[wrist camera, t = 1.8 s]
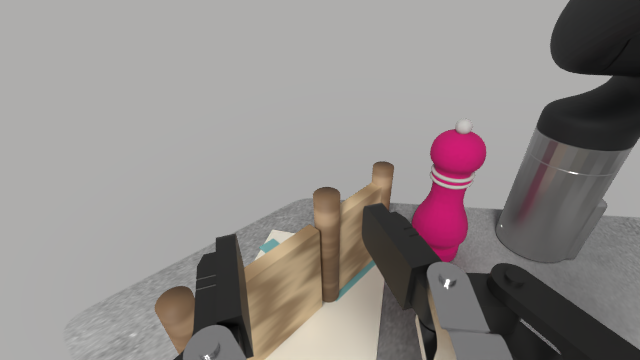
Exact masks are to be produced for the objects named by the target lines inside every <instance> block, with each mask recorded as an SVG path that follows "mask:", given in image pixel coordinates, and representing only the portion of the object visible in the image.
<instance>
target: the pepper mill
mask: <svg viewBox="0 0 640 360" xmlns="http://www.w3.org/2000/svg"><path fill="white" fill-rule="evenodd" d="M472 128H473V124H472V122H471V121H470V120H468V119H461V120H459V121H458V122H457V123H456V126H455V129H454V130H448V131H445V132H443V133H441V134H440V135H439V136H438V137H437V138H436V139H435V140H434V142H433V144H432V147H431V151H430V155H431V159H432V161H433V163H434V164H433V165H432V167H431V169H432V171H431V172H430V177H431V179H432V180H433V184H432V188H431V191H430V193H429V195H428V196H427V198H426V199H425V200H424V201H423V202H422V204H420V205H419V207H418V208H417V210H416V211H415V214H414V216H413V219H412V226H413V228H415V229H416V231H417V232H418V233H419V235H421V236H422V238H423V239H424V240H425V241H426V242H427V244H428V245H429V246H430V247H431V248H432V249H433V251H434V252H435V253H436V254H437V255H438V256H439V258H440V259H441V260H442V261H443V262H450V261H451V260H453V259H454V258H455V256H456V253H457V250H458V246H459V244H460V243H462V242H463V241H464V239H465V238H466V235H467V230H468V221H467V216H466V212H465V209H464V205H463V198H464V194H465V191H466V189H467V188H468V187H470V186H471V185H472V183H473V179H474V177H475V172H474V171H476V170H477V169H479V168H480V167H481V166H482V164H483V163H484V161H485V157H486V146H485V144H484V142H483V140H482V139H481V138H480V137H479V136H478V135H477V134H475V133H473V132H471V130H472Z"/></svg>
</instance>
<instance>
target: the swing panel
mask: <svg viewBox="0 0 640 360" xmlns="http://www.w3.org/2000/svg"><path fill="white" fill-rule="evenodd" d="M244 271H245V279H246V288H247V297H248V306H249V316H250V325H251V334H252V343H253V353H254V357H251V358H248V359H247V360H265V359H266V358H267V357H268V356H269V355H270V354H271V353H272V352H273V351H274V350H276V349H277V348H278V347H279V346H280V345H281V344H282V343H283V342H284V341H285V340H286V339H287V338H289V337H290V336H291V335H292V334H293V333H294V332H295V331H296V330H297V329H298V328H299V327H300V326H302V325H303V324H304V323H305V322H306V321H307V320H308V319H309V318H310V317H311V316H312V315H313V314H315V313H316V312H317V311H318V310H319V309H320V308H321V307H322V284H321V259H320V233H319V230H317V229H316V228H314V227H313V226H311V225H310V224H309V225H308V226H306V227H305V228H303V229H302V230H300V231H299V232H297V233H296V234H294V235H293V236H291V237H290V238H288V239H287V240H285V241H284V242H282V243H281V244H279V245H278V246H276V247H275V248H273V249H272V250H270V251H269V252H267V253H266V254H264V255H263V256H261V257H260V258H258V259H257V260H255V261H254V262H252V263H251V264H249V265H248V266H246V267H245V268H244ZM194 309H195V298H194V296H193V293H192V291H191V290H190V289H189V288H188V287H185V286H178V287H174V288H171V289H169V290H167V291H166V292H164V293H163V294H162V295H161V296H160V297H159V298H158V300H157V302H156V304H155V312H156V314H157V315H158V317H159V319H160V321H161V323H162V324H163V326H164V328H165V330H166V332H167V333H168V335H169V337H170V339H171V341H172V342H173V344H174V346H175V348H176V350H177V351H178V353H179V355H180V353H181V352H182V351H183V350H184V349H185V347H186V345H187V343H188V342H189V340H190V339H191V337H192V333H193V325H194Z"/></svg>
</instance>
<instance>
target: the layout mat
mask: <svg viewBox="0 0 640 360" xmlns="http://www.w3.org/2000/svg"><path fill="white" fill-rule="evenodd" d="M294 234H295V233H289V232H283V231H278V230H272V232H271V233H270V235H269V237H268V238H267V240H266V242H265V244H263V245H262V246H260V247H259V248H260V249H261V250H260V252H259V254H258V256H257V257H256V259H255V260H257V259H258V258H260V257H261V256H263V255H264V254H266V253H267V252H269V251H270V250H272V249H273V248H275V247H276V246H278V245H279V244H281V243H282V242H284V241H285V240H287V239H288V238H290V237H291V236H293V235H294ZM384 280H385V279H384V278H383V276H382V274H381V272H380V271H379V269H378V267H377V266H376V264H375V262H374V261H373V260H372V261H371V262H370V263H369V264H368V265H367V266H365V267H364V268H363V269H362V270H361V271H360V272H359V273H358V274H357V275H356V276H355V277H354V278H352V279H351V280H350V281H349V282H348V283H347V284H346V285H345V286H344V287H343V288H342V289H341V290H339V297H338V298H337V300H335V301H334V302H330V303H327V302H324V301H322V307H321V308H320V309H319V310H318V311H317V312H316V313H315V314H313V315H312V316H311V317H310V318H309V319H308V320H307V321H306V322H305V323H304V324H303V325H302V326H300V327H299V328H298V329H297V330H296V331H295V332H294V333H293V334H292V335H291V336H290V337H289V338H287V339H286V340H285V341H284V342H283V343H282V344H281V345H280V346H279V347H278V348H277V349H276V350H274V351H273V352H272V353H271V354H270V355H269V356H268V357H267V358H266V359H265V360H376V356H377V346H378V337H379V327H380V318H381V308H382V299H383V289H384Z"/></svg>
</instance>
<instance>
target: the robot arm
mask: <svg viewBox="0 0 640 360" xmlns="http://www.w3.org/2000/svg"><path fill="white" fill-rule="evenodd" d="M550 48H551V54H552V58H553V60H554V61H555V63H556V64H557V65H558V66H559V67H560V68H562V69H564V70H566V71H568V72H572V73H578V74H587V75H609V76H612V78H611V79H610V80H609V81H608V82H606V83H605V84H603V85H601V86H599V87H598V88H596V89H593V90H591V91H588V92H586V93H583V94H580V95H576V96H571V97H567V98H563V99H559V100H556V101H553V102H551V103H549V104H548V105H547V106H546V107H545V108H544V109H543V111H542V113H541V115H540V118H539V120H538V123H537V126H536V128H535V131H534V133H533V136H532V138H531V141H530V143H529V146H528V148H527V151H526V153H525V156H524V159H523V161H522V164H521V166H520V169H519V171H518V174H517V176H516V179H515V181H514V184H513V186H512V189H511V191H510V194H509V196H508V199H507V201H506V204H505V206H504V209H503V211H502V214H501V216H500V218H499V222H498V224H497V227H496V234H497V236H498V238H499V240H500V241H501V242H502V243H503V244H504V245H505V246H506V247H507V248H509V249H510V250H511V251H513V252H515V253H516V254H518V255H520V256H522V257H525V258H527V259H530V260H534V261H538V262H544V263H554V262H559V261H561V260H564V259H572V260H574V259H575V257H576V256H577V254H578V252H579V251H580V249H581V248H582V246H583V245H584V243H585V241H586V240H587V238H588V237H589V235H590V234H591V232H592V230H593V229H594V227H595V226H596V224H597V223H598V221H599V219H600V218H601V216H602V215H603V213H604V212H605V210H606V208H607V203H606V202H605V201H604V200H603V199H602V198H603V196H604V195H605V193H606V191H607V190H608V188H609V186H610V185H611V183H612V181H613V180H614V178H615V176H616V175H617V173H618V171H619V170H620V168H621V166H622V165H623V163H624V161H625V160H626V158H627V157H628V155H629V153H630V152H631V150H632V148H633V147H634V145H635V144H636V142H637V140H638V139H639V137H640V0H570V1H569V2H568V4H567V5H566V7H565V9H564V10H563V11H562V13H561V15H560V17H559V18H558V20H557V22H556V24H555V27H554V30H553V33H552V37H551V43H550ZM362 239H363V243H364V245H365V247H366V249H367V251H368V252H369V254H370V256H371V257H372V259H373V261H374V262H375V264H376V266H377V267H378V269H379V271H380V272H381V274H382V276H383V278H384V279H385V281H386V283H387V284H388V286H389V288H390V289H391V291H392V293H393V294H394V296H395V298H396V299H397V301H398V303H399V304H400V306H401V308H402V310H406V309H409V308H413V309H414V311H415V312H416V318H415V322H416V327H417V333H418V338H419V343H420V349H421V354H422V359H423V360H640V350H639V349H637V348H636V347H635V346H633V345H632V344H630V343H629V342H627V341H626V340H625V339H623V338H622V337H620V336H619V335H617V334H616V333H615V332H613V331H612V330H610V329H609V328H607V327H606V326H605V325H603V324H602V323H600V322H599V321H597V320H596V319H595V318H593V317H592V316H590V315H589V314H587V313H586V312H584V311H583V310H582V309H580V308H579V307H577V306H576V305H574V304H573V303H572V302H570V301H569V300H567V299H566V298H564V297H563V296H562V295H560V294H559V293H557V292H556V291H554V290H553V289H552V288H550V287H549V286H547V285H546V284H544V283H543V282H542V281H540V280H539V279H537V278H536V277H534V276H533V275H532V274H530V273H529V272H527V271H526V270H524V269H522V268H520V267H518V266H516V265H513V264H508V263H500V264H497V265H495V266H494V267H493V268H492V270H491V272H490V274H484V273H465V272H464V271H463V270H462V269H461V268H459V267H458V266H456V265H454V264H451V263H448V262H443V261H442V260H441V259H440V258H439V256H438V255H437V254H436V253H435V252H434V251H433V249H432V248H431V247H430V246H429V245H428V244H427V242H426V241H425V240H424V239H423V238H422V236H421V235H419V233H418V232H417V231H416V229H415V228H413V226H412V225H411V224H410V222H409V221H408V220H407V219H406V218H405V217H403V216H402V215H400V214H398V213H397V212H391V213H390V212H389V211H388V209H387V208H386V207H385V206H384V204H383V203H377V204H372V205H367V206H364V208H363V218H362ZM196 279H197V281H196V293H195V309H194V325H193V333H192V337H191V339H190V340H189V342H188V343H187V345H186V347H185V349H184V350H183V351H182V352H181V353H180V355H178V356H177V357H176V358H175V359H174V360H247V359H248V358H251V357H254V353H253V343H252V334H251V325H250V316H249V306H248V297H247V288H246V279H245V271H244V265H243V261H242V256H241V252H240V248H239V244H238V240H237V236H236V234H231V235H227V236H223V237H218V238H216V252H213V253H209V254H204V255H203V257H202V259H201V260H200V262H199V264H198V266H197V278H196ZM521 318H522V319H523V320H524V321H526V322H527V323H528V324H529V325H530V326H532V327H533V328H534V329H535V330H536V331H538V332H539V333H540V334H541V335H542V336H544V337H545V338H546V339H547V340H548V341H550V342H551V343H552V344H553V345H554V346H556V348H557V349H558V350H559V351H560V353H561V355H560V354H559V353H557V352H556V351H555V350H554V349H552V348H551V347H550V346H549V345H548V344H547V343H545V342H544V341H543V340H542V339H541V338H539V337H538V336H537V335H536V334H535V333H533V332H532V331H531V330H530V329H529V328H527V327H526V326H525V325H524V324H523V323H522V322H520V320H521Z"/></svg>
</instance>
